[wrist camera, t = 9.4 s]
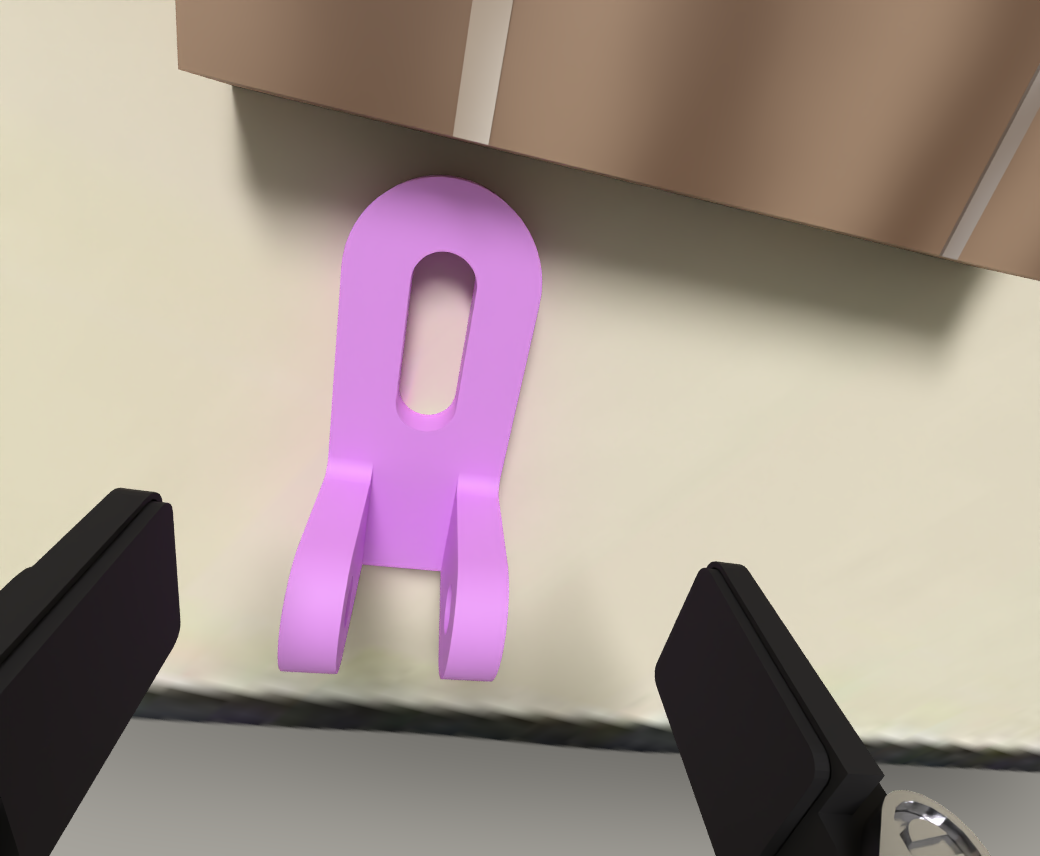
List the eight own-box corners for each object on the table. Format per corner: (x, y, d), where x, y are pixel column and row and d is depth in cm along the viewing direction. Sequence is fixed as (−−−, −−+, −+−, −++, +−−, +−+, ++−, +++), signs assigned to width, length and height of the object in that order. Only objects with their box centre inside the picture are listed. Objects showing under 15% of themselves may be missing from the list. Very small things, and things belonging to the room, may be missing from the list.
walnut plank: (1089, 55, 16) (1225, 35, 13) (972, 266, 18) (1065, 286, 16) (228, -250, 11) (156, -379, 9) (231, 84, 14) (176, 68, 11)
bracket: (476, 550, 22) (487, 710, 15) (329, 536, 20) (276, 703, 14) (553, 198, 16) (618, 228, 10) (357, 154, 15) (291, 156, 9)
